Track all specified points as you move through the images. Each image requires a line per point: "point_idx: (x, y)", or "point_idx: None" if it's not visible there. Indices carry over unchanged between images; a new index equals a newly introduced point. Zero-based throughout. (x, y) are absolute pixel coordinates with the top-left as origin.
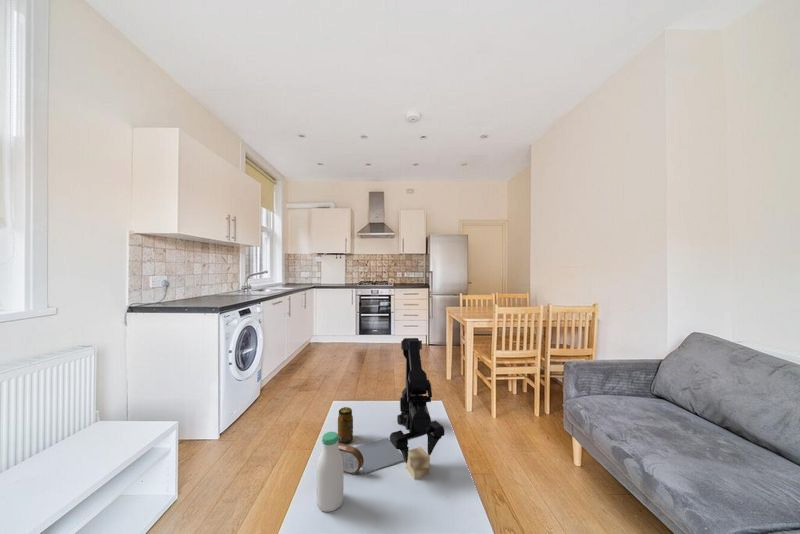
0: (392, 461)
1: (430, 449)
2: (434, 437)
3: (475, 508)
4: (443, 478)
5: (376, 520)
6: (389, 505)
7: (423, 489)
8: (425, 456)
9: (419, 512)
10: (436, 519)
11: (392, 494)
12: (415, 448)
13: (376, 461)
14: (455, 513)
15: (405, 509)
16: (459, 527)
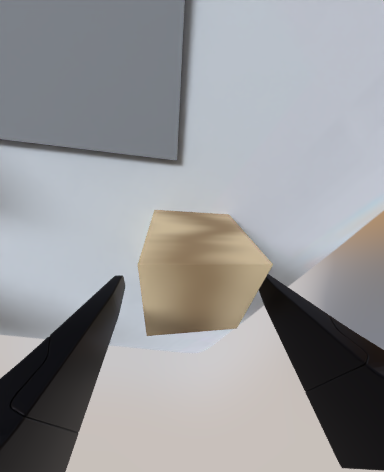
0: (92, 126)
1: (275, 322)
2: (366, 465)
3: (217, 340)
4: None
5: (2, 326)
6: (45, 308)
7: None
8: (219, 325)
9: (120, 330)
10: (145, 341)
11: (60, 287)
12: (226, 266)
13: None
14: (182, 340)
15: None
16: (171, 351)
